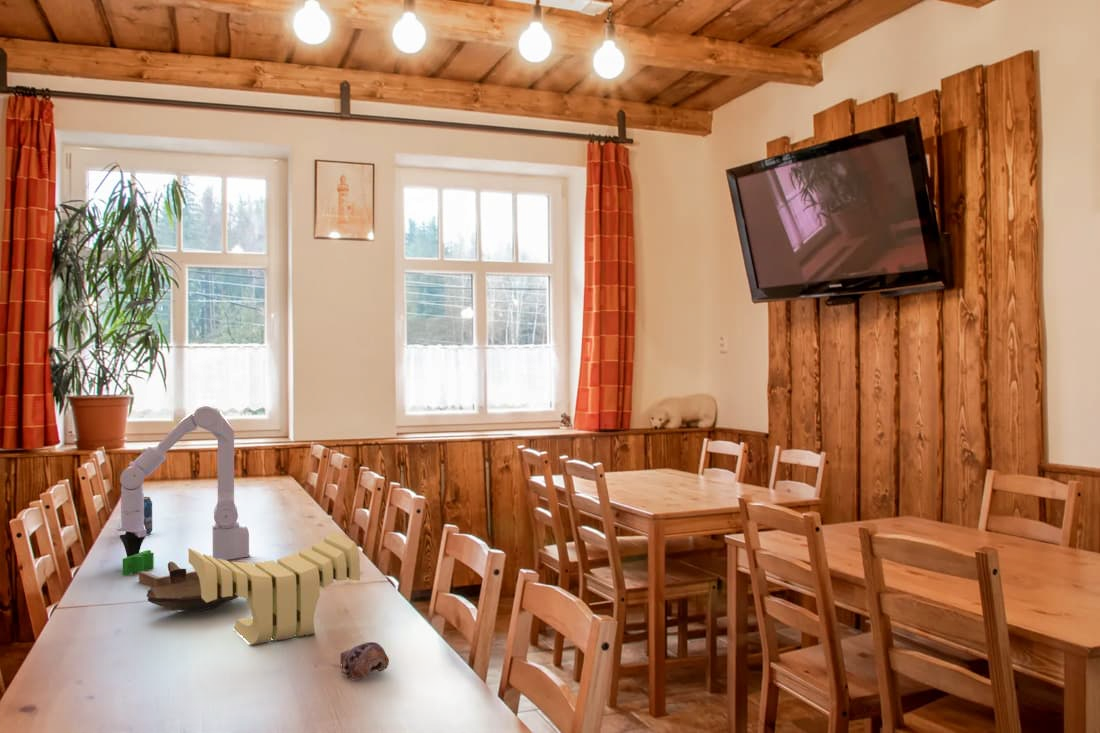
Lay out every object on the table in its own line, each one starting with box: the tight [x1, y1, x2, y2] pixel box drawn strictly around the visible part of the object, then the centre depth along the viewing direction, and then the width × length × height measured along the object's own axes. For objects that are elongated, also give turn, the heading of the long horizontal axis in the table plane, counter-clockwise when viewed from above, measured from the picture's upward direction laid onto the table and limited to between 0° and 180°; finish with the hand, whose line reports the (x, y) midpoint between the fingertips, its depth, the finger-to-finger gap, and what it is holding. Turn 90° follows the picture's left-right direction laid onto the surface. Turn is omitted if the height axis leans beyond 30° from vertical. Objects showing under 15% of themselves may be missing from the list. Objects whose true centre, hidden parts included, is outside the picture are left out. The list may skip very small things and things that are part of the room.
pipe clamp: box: [122, 549, 155, 576], centre depth 237 cm, size 11×4×5 cm, turn 173°
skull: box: [340, 641, 390, 680], centre depth 156 cm, size 12×8×6 cm, turn 32°
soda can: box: [144, 496, 153, 535], centre depth 288 cm, size 7×7×12 cm
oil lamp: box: [145, 561, 239, 612], centre depth 202 cm, size 22×30×8 cm
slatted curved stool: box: [188, 531, 361, 646], centre depth 179 cm, size 30×16×18 cm, turn 124°
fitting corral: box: [138, 570, 199, 588], centre depth 227 cm, size 18×11×2 cm, turn 135°
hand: (132, 559), depth 243 cm, fingers closed
